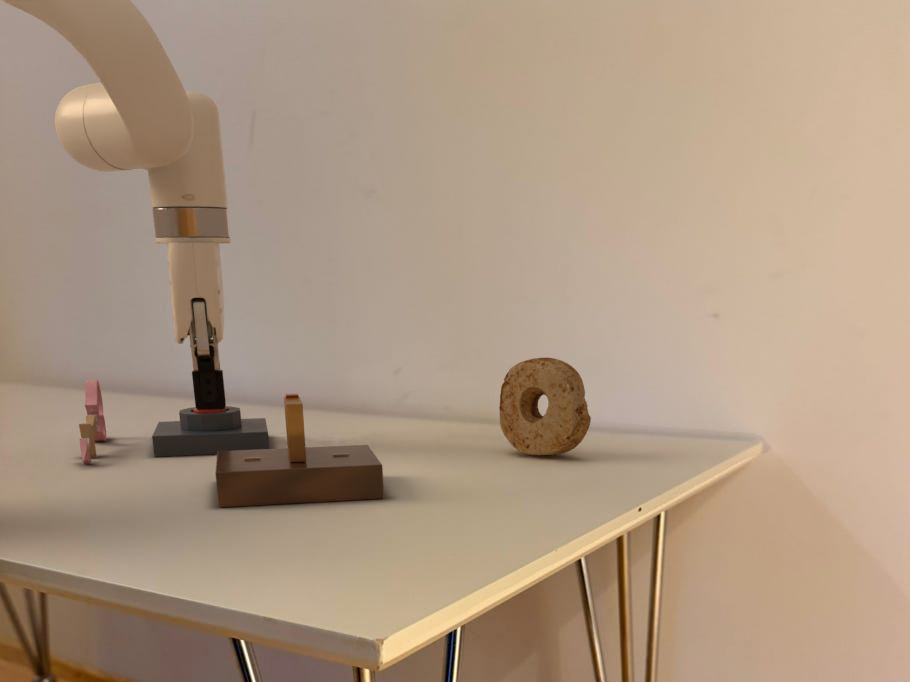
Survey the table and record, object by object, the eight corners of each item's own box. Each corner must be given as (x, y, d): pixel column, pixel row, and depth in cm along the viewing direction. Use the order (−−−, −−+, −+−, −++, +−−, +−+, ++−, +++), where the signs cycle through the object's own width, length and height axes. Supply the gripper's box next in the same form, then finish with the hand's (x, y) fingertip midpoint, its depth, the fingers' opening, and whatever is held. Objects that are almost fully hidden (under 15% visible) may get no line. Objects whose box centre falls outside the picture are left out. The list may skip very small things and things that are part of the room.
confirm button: (193, 427, 107) (192, 411, 106) (195, 422, 110) (193, 406, 110) (227, 426, 108) (226, 410, 107) (228, 421, 111) (226, 405, 110)
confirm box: (154, 457, 104) (149, 418, 103) (160, 441, 113) (156, 405, 112) (269, 452, 107) (266, 414, 105) (266, 436, 116) (264, 402, 114)
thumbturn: (306, 461, 86) (302, 400, 84) (290, 462, 85) (285, 401, 83) (303, 451, 90) (299, 393, 88) (287, 452, 90) (283, 393, 88)
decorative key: (82, 496, 99) (96, 432, 116) (95, 495, 100) (107, 432, 116) (71, 431, 96) (87, 375, 112) (84, 431, 96) (98, 375, 113)
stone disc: (491, 452, 106) (491, 356, 102) (511, 447, 109) (512, 354, 105) (572, 464, 100) (575, 362, 96) (591, 458, 103) (595, 359, 99)
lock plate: (218, 507, 83) (215, 470, 82) (220, 483, 92) (217, 449, 91) (383, 498, 86) (382, 462, 85) (369, 475, 95) (368, 442, 94)
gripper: (159, 230, 108) (179, 400, 114) (149, 226, 94) (172, 420, 101) (229, 230, 109) (245, 398, 116) (229, 226, 96) (246, 417, 103)
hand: (211, 408), depth 108 cm, fingers closed
